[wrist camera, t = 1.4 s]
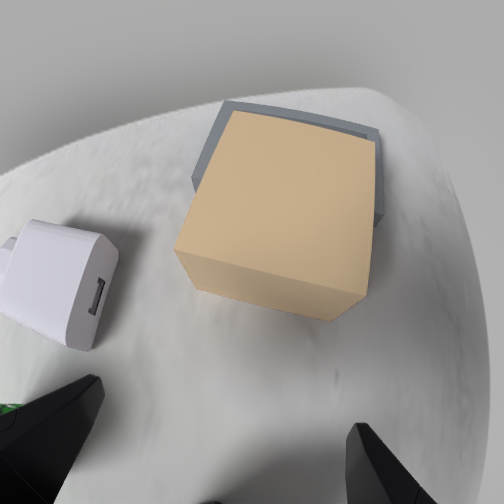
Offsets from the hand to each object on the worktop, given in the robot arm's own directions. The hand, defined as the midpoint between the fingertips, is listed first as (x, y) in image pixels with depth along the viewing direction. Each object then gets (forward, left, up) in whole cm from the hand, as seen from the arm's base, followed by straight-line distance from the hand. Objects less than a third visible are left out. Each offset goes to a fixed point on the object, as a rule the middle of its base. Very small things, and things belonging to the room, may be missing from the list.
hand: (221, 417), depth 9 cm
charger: (+18, +10, -13) cm, 24 cm away
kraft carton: (+8, -11, -13) cm, 18 cm away
